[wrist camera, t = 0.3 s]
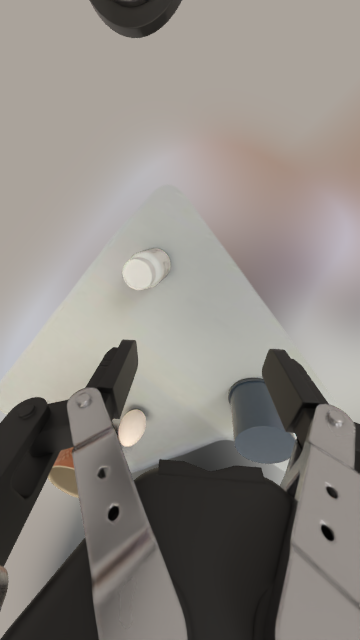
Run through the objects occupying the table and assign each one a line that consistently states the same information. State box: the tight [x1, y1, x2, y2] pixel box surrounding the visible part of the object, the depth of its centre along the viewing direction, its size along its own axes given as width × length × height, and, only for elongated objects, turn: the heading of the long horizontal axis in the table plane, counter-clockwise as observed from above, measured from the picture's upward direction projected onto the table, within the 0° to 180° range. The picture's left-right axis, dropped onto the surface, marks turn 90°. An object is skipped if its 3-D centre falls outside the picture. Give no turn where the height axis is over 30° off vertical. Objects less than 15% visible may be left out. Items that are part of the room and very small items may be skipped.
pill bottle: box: [122, 248, 171, 290], centre depth 24 cm, size 4×4×8 cm
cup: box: [228, 378, 296, 464], centre depth 31 cm, size 9×9×9 cm
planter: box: [48, 436, 120, 498], centre depth 43 cm, size 12×12×11 cm
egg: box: [118, 409, 146, 447], centre depth 39 cm, size 5×5×7 cm
